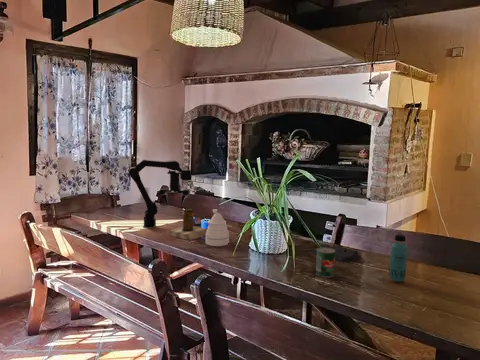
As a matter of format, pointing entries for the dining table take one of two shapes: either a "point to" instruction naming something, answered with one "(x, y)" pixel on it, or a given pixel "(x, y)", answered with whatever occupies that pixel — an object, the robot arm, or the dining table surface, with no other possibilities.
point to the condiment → (188, 221)
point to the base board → (188, 233)
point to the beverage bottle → (398, 259)
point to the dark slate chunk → (342, 254)
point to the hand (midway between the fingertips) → (174, 205)
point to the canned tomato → (325, 262)
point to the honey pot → (217, 231)
